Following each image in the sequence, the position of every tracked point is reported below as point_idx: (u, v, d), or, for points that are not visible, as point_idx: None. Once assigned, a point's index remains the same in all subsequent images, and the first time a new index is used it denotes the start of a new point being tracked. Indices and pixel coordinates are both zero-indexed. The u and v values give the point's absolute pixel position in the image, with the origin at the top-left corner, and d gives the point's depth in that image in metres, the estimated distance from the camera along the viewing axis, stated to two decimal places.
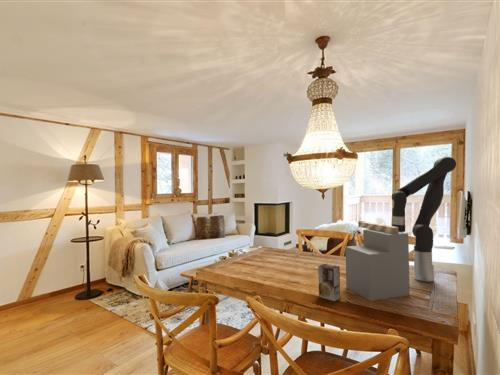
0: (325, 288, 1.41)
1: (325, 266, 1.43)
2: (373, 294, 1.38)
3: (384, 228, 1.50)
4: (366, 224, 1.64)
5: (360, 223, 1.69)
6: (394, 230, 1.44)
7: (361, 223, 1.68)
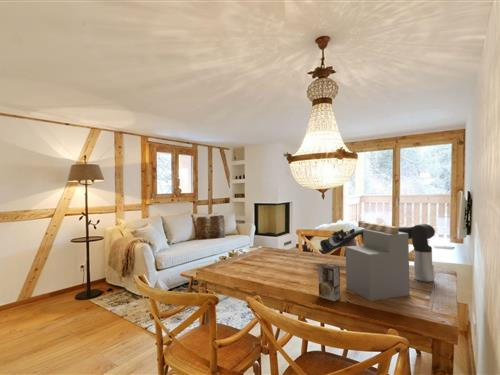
0: (325, 288, 1.41)
1: (325, 266, 1.43)
2: (373, 294, 1.38)
3: (384, 228, 1.50)
4: (366, 224, 1.64)
5: (360, 223, 1.69)
6: (394, 230, 1.44)
7: (361, 223, 1.68)
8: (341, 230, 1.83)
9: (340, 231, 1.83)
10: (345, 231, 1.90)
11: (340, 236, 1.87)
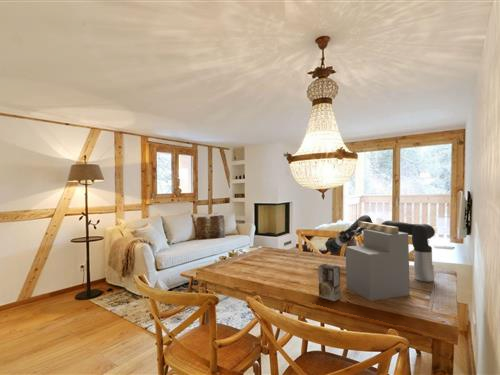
0: (325, 288, 1.41)
1: (325, 266, 1.43)
2: (373, 294, 1.38)
3: (384, 228, 1.50)
4: (366, 224, 1.64)
5: (360, 223, 1.69)
6: (394, 230, 1.44)
7: (361, 223, 1.68)
8: (348, 229, 1.74)
9: (347, 230, 1.75)
10: (352, 230, 1.82)
11: (347, 235, 1.78)
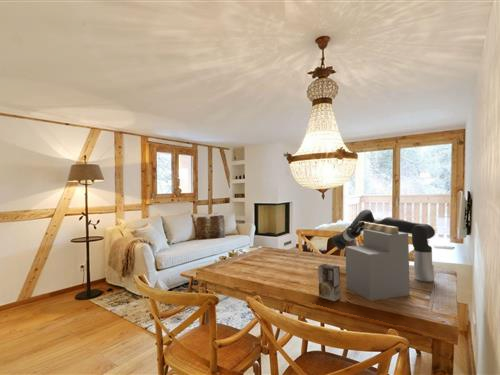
0: (325, 288, 1.41)
1: (325, 266, 1.43)
2: (373, 294, 1.38)
3: (384, 228, 1.50)
4: (366, 224, 1.64)
5: None
6: (394, 230, 1.44)
7: None
8: (362, 222, 1.66)
9: (361, 224, 1.67)
10: None
11: (358, 230, 1.71)
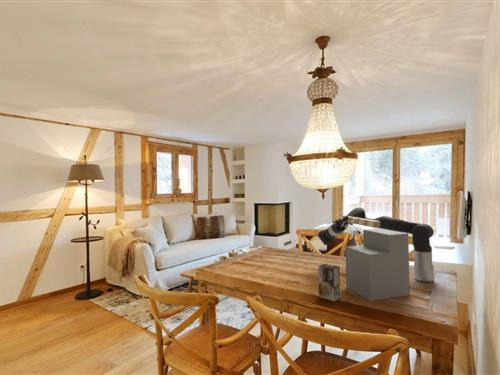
0: (325, 288, 1.41)
1: (325, 266, 1.43)
2: (373, 294, 1.38)
3: (366, 222, 1.48)
4: (350, 218, 1.61)
5: (344, 217, 1.67)
6: (375, 224, 1.42)
7: None
8: (346, 217, 1.64)
9: (345, 218, 1.64)
10: None
11: (343, 224, 1.68)
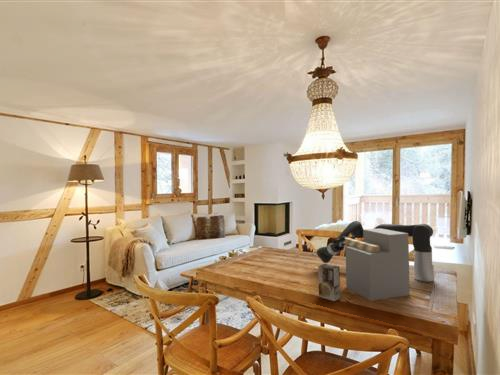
0: (325, 288, 1.41)
1: (325, 266, 1.43)
2: (373, 294, 1.38)
3: (365, 247, 1.47)
4: (349, 241, 1.61)
5: None
6: (375, 249, 1.41)
7: None
8: (342, 237, 1.63)
9: (341, 239, 1.64)
10: None
11: (340, 244, 1.67)
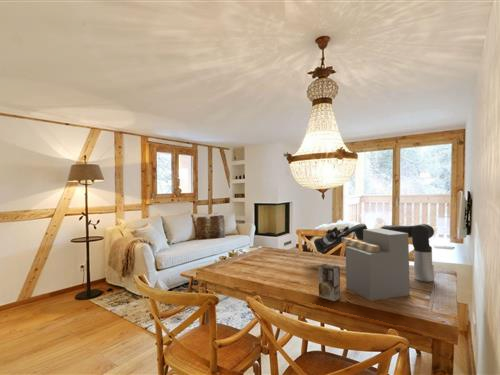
0: (325, 288, 1.41)
1: (325, 266, 1.43)
2: (373, 294, 1.38)
3: (365, 247, 1.47)
4: (349, 241, 1.61)
5: (343, 239, 1.66)
6: (375, 249, 1.41)
7: (344, 239, 1.65)
8: (335, 228, 1.79)
9: (334, 229, 1.80)
10: (339, 229, 1.87)
11: (334, 234, 1.83)
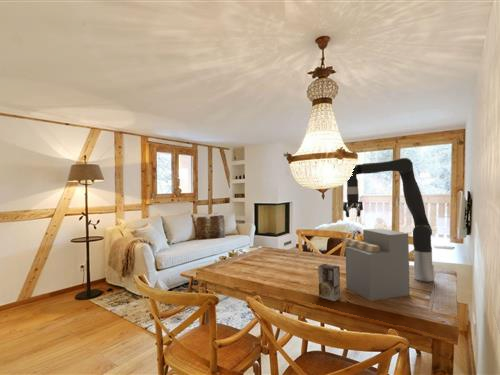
0: (325, 288, 1.41)
1: (325, 266, 1.43)
2: (373, 294, 1.38)
3: (365, 247, 1.47)
4: (349, 241, 1.61)
5: (343, 239, 1.66)
6: (375, 249, 1.41)
7: (344, 239, 1.65)
8: (347, 216, 1.89)
9: (346, 214, 1.90)
10: (357, 207, 1.90)
11: None
